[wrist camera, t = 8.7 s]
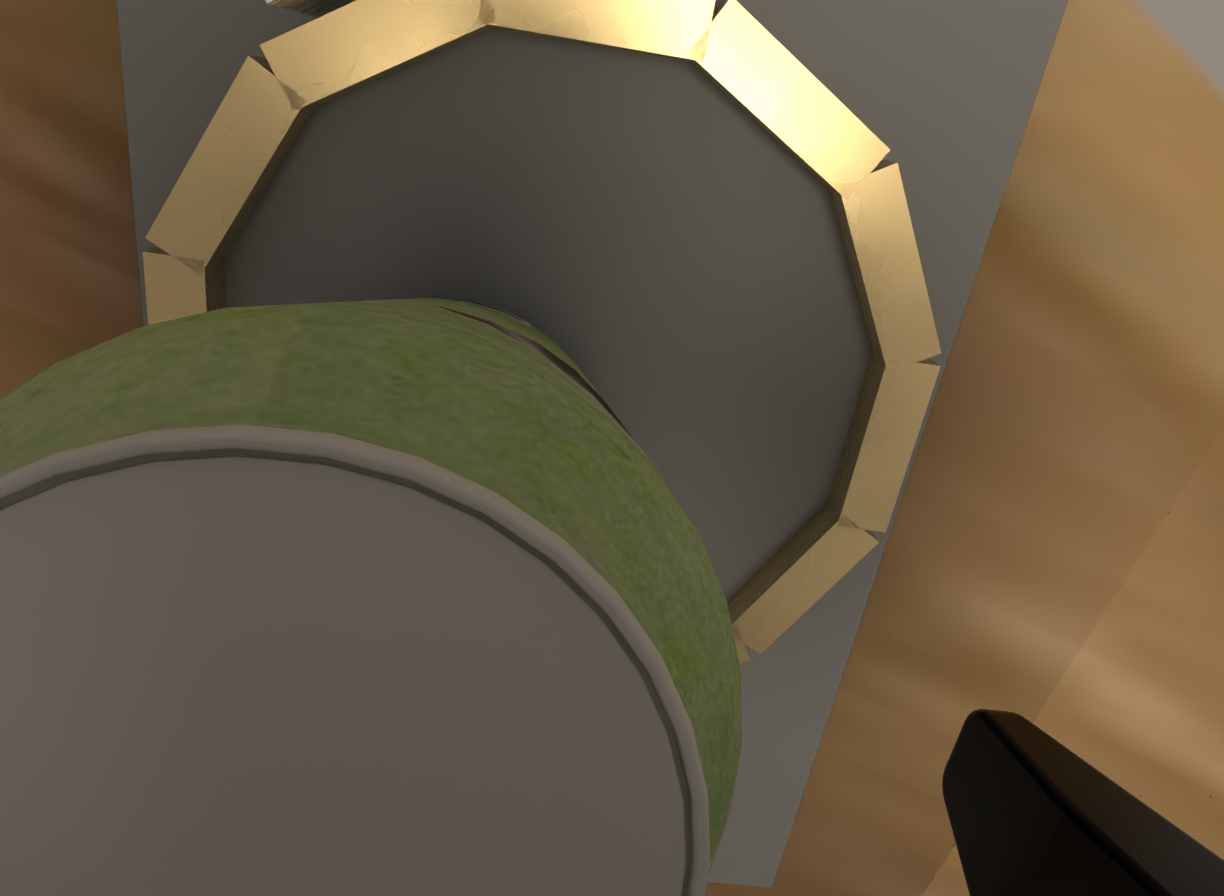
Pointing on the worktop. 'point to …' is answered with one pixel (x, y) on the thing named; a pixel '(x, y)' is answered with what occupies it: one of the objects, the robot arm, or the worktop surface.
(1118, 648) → the worktop surface
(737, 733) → the beverage can
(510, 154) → the base
